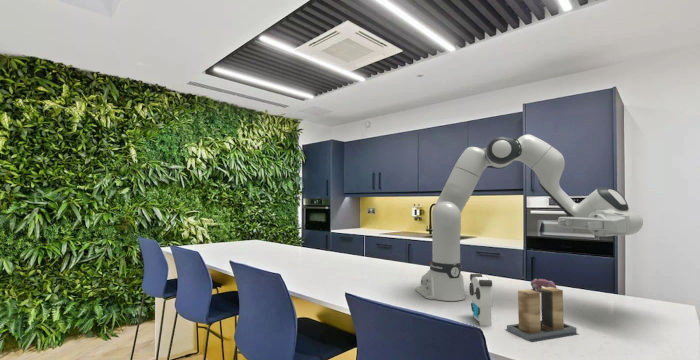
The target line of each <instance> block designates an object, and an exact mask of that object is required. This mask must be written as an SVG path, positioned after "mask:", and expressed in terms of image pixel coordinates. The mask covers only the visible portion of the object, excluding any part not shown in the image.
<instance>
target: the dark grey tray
mask: <svg viewBox="0 0 700 360" xmlns="http://www.w3.org/2000/svg"><path fill="white" fill-rule="evenodd" d="M540 322H541V332H535V333H526V332H524V331H522V330H520V329H519V323H514V324H508V325H506V328H505V329H504V331H507V332H508V333H510V334H513V335H516V336H517V337H519V338H521V339H524V340H526V341H528V342H530V343H537V342H543V341H549V340H554V339H555V340H556V339H561V338H566V337H573V336H580V333H578V332H577V327H576V326H572V325H570V324H568V323H564V328H561V329H555V330H548V331H547V330H545V329H542V320H540Z"/></svg>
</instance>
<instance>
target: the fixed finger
mask: <svg viewBox="0 0 700 360" xmlns="http://www.w3.org/2000/svg"><path fill="white" fill-rule="evenodd" d="M517 307H518V309H517V310H518V311H517V313H518V324H519V329H520V330H522V331H524V332H526V333H535V332H541V322H540V321H541V292H538V291H537V290H536V291H535V290H534V289H527V288H525V289H519V290H517Z"/></svg>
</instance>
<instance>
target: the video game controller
mask: <svg viewBox="0 0 700 360" xmlns="http://www.w3.org/2000/svg"><path fill="white" fill-rule="evenodd" d="M530 286H531V288H532V290H533V291H535V290H536V292H539V293H541V288H546V287H553V288H557V289H558V287H557V285H556V284H555V282H554V281H552V280H548V279H544V278H538V279H537V278H534V279H533V280H531V282H530Z"/></svg>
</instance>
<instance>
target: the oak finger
mask: <svg viewBox="0 0 700 360" xmlns="http://www.w3.org/2000/svg"><path fill="white" fill-rule="evenodd" d="M540 309H541V321H542V329H545V330H547V331H548V330H555V329H561V328H564V319H565V318H564V292H563V289H560V288H558V287H557V288H553V287H546V288H545V287H542V288H541V292H540Z"/></svg>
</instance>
